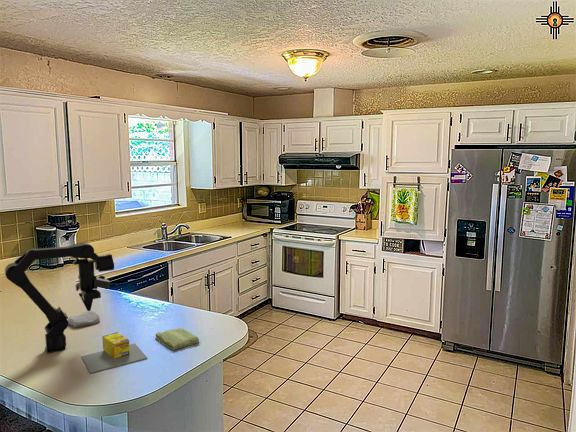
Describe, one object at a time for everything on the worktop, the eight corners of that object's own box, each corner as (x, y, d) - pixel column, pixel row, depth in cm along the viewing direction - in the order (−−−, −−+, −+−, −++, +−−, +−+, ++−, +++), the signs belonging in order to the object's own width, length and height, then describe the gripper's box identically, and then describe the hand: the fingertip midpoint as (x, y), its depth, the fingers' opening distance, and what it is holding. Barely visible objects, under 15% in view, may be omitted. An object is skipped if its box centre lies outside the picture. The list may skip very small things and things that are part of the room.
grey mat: (90, 373, 152) (90, 372, 152) (81, 357, 165) (81, 356, 165) (147, 358, 164) (147, 357, 164) (135, 344, 177) (134, 343, 176)
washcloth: (181, 331, 191) (181, 324, 191) (201, 344, 178) (201, 336, 177) (153, 339, 183) (152, 331, 182) (171, 353, 169) (171, 345, 169)
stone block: (102, 325, 202) (93, 316, 208) (102, 316, 201) (92, 307, 207) (75, 333, 193) (67, 324, 200) (75, 324, 192) (66, 314, 198)
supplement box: (117, 331, 173) (129, 339, 166) (117, 345, 174) (130, 354, 167) (102, 335, 169) (114, 344, 162) (102, 350, 170) (115, 359, 162)
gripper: (113, 275, 173) (115, 313, 175) (102, 266, 188) (104, 301, 190) (83, 279, 167) (85, 318, 169) (74, 270, 182) (76, 306, 184)
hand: (88, 310), depth 178 cm, fingers closed
